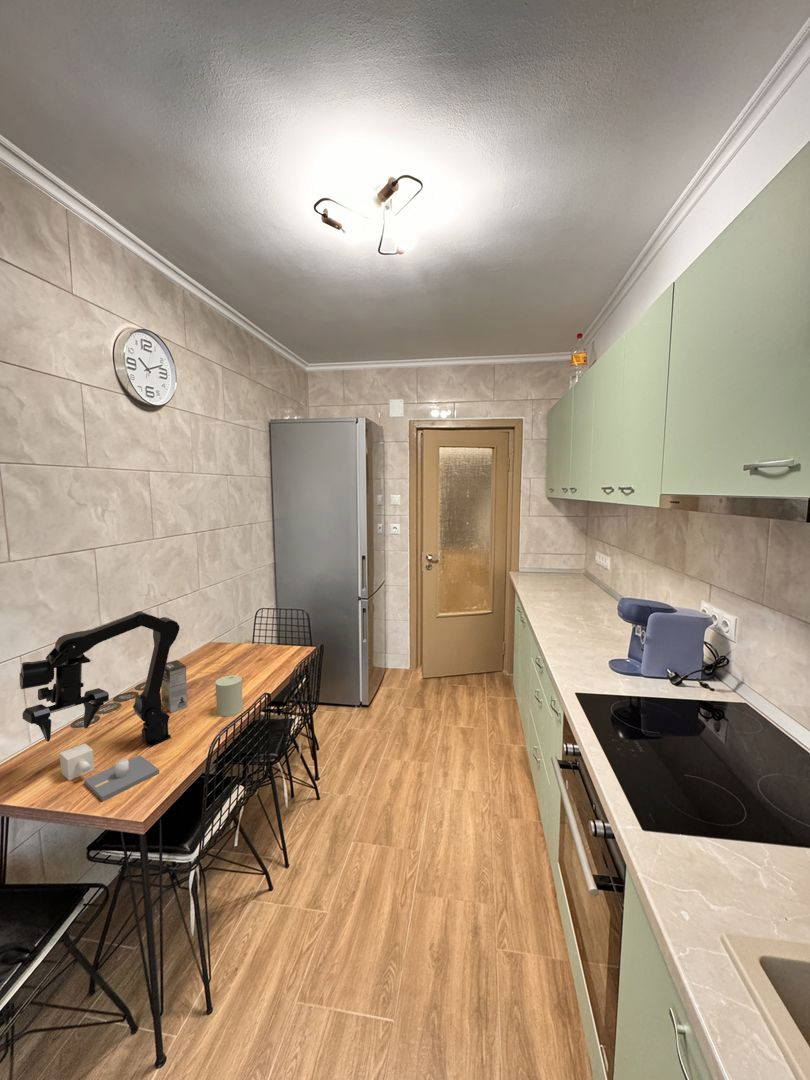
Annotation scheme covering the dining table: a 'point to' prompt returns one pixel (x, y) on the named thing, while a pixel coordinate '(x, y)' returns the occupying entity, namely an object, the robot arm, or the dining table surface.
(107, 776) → the grey slotted slab
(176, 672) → the coffee box
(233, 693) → the can
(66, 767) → the cream rectangular block
